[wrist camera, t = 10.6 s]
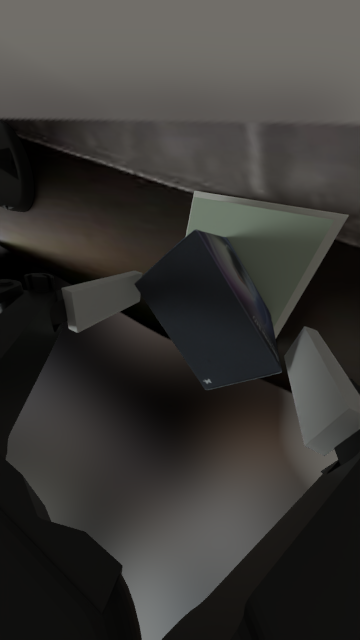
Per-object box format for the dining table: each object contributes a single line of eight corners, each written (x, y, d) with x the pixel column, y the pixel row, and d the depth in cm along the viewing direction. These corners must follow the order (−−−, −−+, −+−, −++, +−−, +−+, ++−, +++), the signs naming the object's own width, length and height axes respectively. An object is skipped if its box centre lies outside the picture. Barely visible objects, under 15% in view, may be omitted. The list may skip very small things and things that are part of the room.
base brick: (183, 314, 31) (169, 328, 26) (208, 206, 23) (194, 196, 18) (254, 341, 27) (253, 364, 22) (314, 226, 19) (334, 220, 14)
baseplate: (172, 315, 33) (170, 317, 32) (196, 192, 23) (194, 190, 23) (266, 351, 28) (266, 355, 27) (345, 216, 19) (349, 214, 18)
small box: (276, 315, 19) (290, 376, 10) (225, 335, 22) (204, 394, 14) (228, 232, 18) (197, 222, 9) (183, 268, 21) (129, 285, 12)
